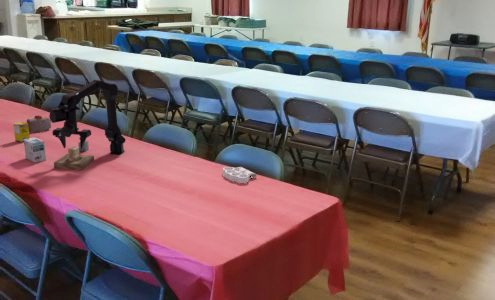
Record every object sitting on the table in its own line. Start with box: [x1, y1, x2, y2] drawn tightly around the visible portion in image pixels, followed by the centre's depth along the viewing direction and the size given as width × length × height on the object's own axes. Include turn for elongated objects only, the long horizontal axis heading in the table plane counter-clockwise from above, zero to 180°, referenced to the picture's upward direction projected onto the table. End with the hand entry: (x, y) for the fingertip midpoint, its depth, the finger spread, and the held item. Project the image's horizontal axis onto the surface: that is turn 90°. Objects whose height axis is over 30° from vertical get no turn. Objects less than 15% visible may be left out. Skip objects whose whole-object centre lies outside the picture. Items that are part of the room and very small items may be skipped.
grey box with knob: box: [26, 115, 52, 134], centre depth 337 cm, size 14×8×10 cm, turn 133°
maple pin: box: [67, 146, 81, 162], centre depth 276 cm, size 4×4×9 cm
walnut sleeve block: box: [53, 153, 95, 171], centre depth 277 cm, size 15×15×3 cm
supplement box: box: [13, 121, 31, 144], centre depth 314 cm, size 6×6×11 cm
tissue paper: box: [222, 166, 257, 184], centre depth 264 cm, size 3×18×15 cm
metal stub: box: [77, 140, 89, 153], centre depth 300 cm, size 4×4×5 cm
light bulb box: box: [23, 137, 47, 163], centre depth 282 cm, size 11×7×11 cm, turn 47°
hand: (73, 148), depth 274 cm, fingers open, 9 cm apart
